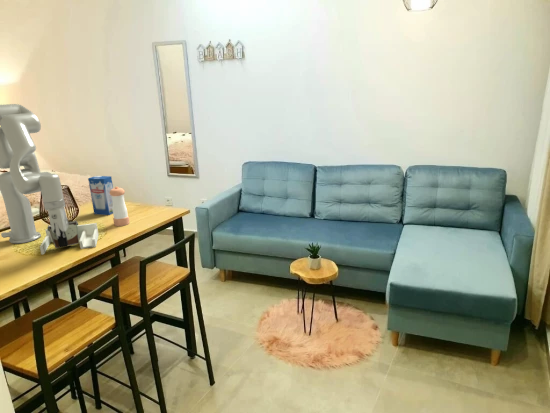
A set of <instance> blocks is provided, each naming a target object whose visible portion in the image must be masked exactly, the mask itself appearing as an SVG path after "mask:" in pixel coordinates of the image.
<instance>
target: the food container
mask: <svg viewBox="0 0 550 413" xmlns="http://www.w3.org/2000/svg"><path fill="white" fill-rule="evenodd" d="M68 224H69V227H68V229H67V230H66V232H65V233H66V237H67V241H68V246H67V247H69V246H74V245H78V244H80V242H79V241H80V238H78V229H77V225H80V224H79V223H78V221H77V220H73V221H68ZM46 229H47V231H50V234H51V237H52V240H53V242H52V243H53V245H54V248H55V249H59V248H60V247H59V244H58V239H57V235H56V233H53V232H52V229H51V225H49V224H47V228H46Z"/></svg>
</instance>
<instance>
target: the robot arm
mask: <svg viewBox="0 0 550 413" xmlns="http://www.w3.org/2000/svg"><path fill="white" fill-rule="evenodd" d="M41 124H42V123H41V121H40V119H39V118H38V116H37V115H36V114H35V113H34V112H33V111H31V110H30V109H28V108H27V107H25V106H24V105H22V104H20V103H19V104H18V103H9V104H0V169H3V170H5V169H7V170H8V169H9V171H5V172H3V173H1V174H0V193H1V197H2V200H3V202H4V206H5V211H6V216H7V218H8V219H7V220H8V223H9V224H8V225H9V227H10V231H7V232H6V231H4V232H1V233H0V235H1V238H3V239H4V238H9V239H8V241H9V242H10V244H23V243H24V244H25V243H29V242H32V241H36V240H38V239H39V238H41V234H42V233H41V232H39V231H37V229H36V225H35V220H34V215H33V211H32V205H31V202H30V199H29V198H28V196H26V195H31V194H36V193H39V192H40V193H41V197H42V203H43V206H44V210H45V211H47V212H48V218H49V223H50V226H51V229H52V232H53V233H56V235H57V239H58V244H59V247H60V248H66V247H69V246H68V241H67V237H66V233H65V232H66V230H67V229H68V227H69V224H68V222H69V220H68V217H67V213H66V209H65V207H66V202H65V198H64V197H65V196H64V193H63V189H62V182H61V179H60V176H59V175H58V174H57V173H51V172H49V171H43V172H41V170H40V169H41V168H40V165H39V162H38V159H37V156H36V153H35V151H36V149H37V147H36V144H35V142H34V140H33V139H32V135H31V134H38V133H39V132H40V131H41V128H42V125H41ZM21 167H23V168H22V169H21Z"/></svg>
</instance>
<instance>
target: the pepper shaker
mask: <svg viewBox="0 0 550 413" xmlns="http://www.w3.org/2000/svg"><path fill="white" fill-rule="evenodd" d="M125 191H126V190H125V189H124V188H122V187H119V186H115V187H113V189H111V190H110V195H111V196H112V201H113V214H112V215H113V217H112V218H113V225H114V226H115V227H123V226H128V225H129V224H130V216H129V215H128V214H129V213H128V209H127V205H126V203H125V195H124V194H125Z"/></svg>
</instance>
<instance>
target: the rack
mask: <svg viewBox="0 0 550 413" xmlns="http://www.w3.org/2000/svg"><path fill="white" fill-rule="evenodd" d="M97 223H98V222H95V223H87V224H86V223H85V224H79V225H77V229H78V238H79V247H80V249H81V250H83V249H90V248H91V249H92V248H96V247H97V245H98V244H97V242H98V240H99V230H98V224H97ZM51 243H53V240H52V237H51V234H50V231H47V228H46V229H45V237H44V238H43V240H42V242H41V244H40V246H39V249H40V255H45V254H46V252H47V249H48V248H49V246H50V244H51Z"/></svg>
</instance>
